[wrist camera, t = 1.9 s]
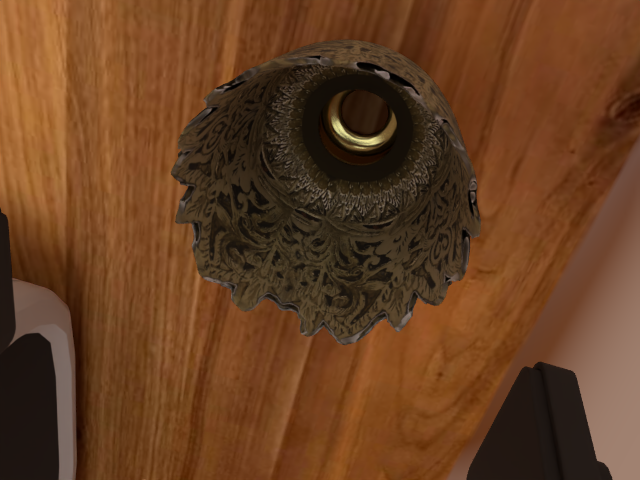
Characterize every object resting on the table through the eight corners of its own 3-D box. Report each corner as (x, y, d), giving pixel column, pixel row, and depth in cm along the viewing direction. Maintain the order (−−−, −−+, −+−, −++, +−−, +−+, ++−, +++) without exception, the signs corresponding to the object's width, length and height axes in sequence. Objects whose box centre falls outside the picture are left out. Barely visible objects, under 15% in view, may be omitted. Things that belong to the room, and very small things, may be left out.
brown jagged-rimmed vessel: (232, 150, 23) (134, 263, 16) (310, -46, 19) (222, -4, 12) (408, 239, 23) (385, 385, 16) (520, 65, 19) (549, 166, 12)
